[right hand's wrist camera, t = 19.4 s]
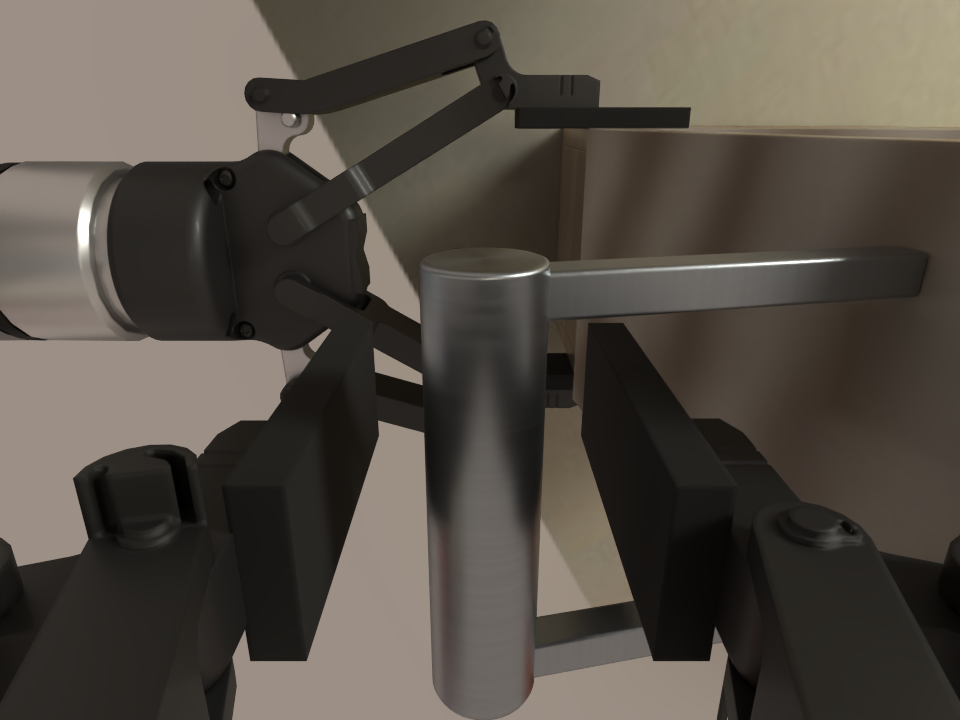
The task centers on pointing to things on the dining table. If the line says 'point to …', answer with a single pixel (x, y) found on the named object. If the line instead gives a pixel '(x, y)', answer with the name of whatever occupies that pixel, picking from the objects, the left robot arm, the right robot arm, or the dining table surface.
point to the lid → (695, 364)
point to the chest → (577, 138)
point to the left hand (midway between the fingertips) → (665, 253)
